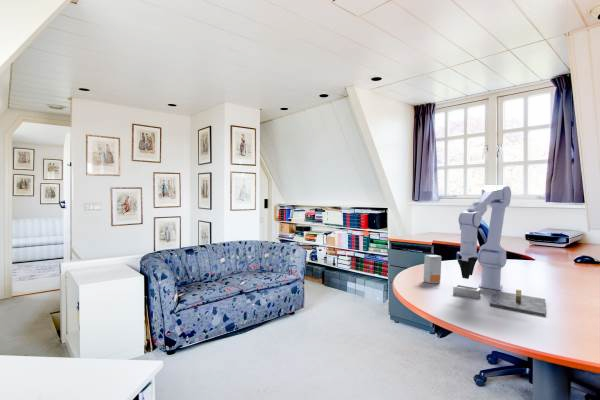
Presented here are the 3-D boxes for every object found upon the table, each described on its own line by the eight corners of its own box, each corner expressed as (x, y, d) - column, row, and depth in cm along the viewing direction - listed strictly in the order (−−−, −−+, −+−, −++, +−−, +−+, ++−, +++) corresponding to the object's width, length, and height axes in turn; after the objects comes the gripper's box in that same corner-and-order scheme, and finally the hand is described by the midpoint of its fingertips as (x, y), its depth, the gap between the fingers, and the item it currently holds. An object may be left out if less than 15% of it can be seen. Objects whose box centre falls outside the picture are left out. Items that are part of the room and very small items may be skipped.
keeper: (496, 293, 135) (496, 280, 134) (545, 301, 125) (545, 288, 125) (489, 305, 118) (490, 292, 118) (545, 316, 109) (546, 301, 109)
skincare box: (429, 283, 146) (430, 256, 146) (423, 281, 151) (424, 254, 150) (440, 283, 148) (441, 256, 148) (434, 280, 152) (435, 254, 152)
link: (453, 294, 132) (453, 286, 132) (455, 291, 136) (456, 284, 136) (478, 298, 126) (478, 291, 126) (480, 295, 130) (480, 288, 130)
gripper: (461, 239, 139) (459, 271, 139) (453, 242, 127) (452, 278, 127) (480, 241, 135) (478, 274, 135) (474, 245, 123) (472, 281, 123)
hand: (467, 276), depth 131 cm, fingers open, 7 cm apart
